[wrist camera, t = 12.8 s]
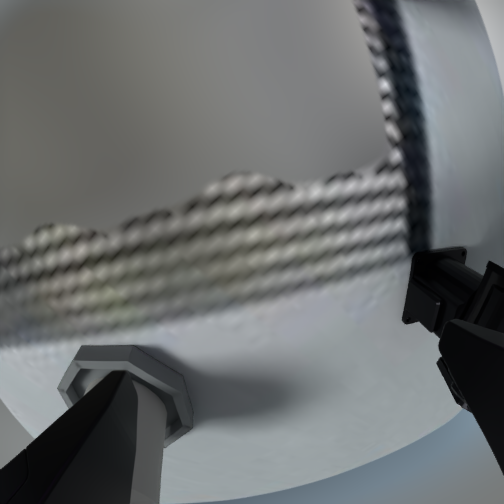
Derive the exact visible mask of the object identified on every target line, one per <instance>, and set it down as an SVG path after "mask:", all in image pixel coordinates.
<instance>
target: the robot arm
mask: <svg viewBox="0 0 504 504" xmlns="http://www.w3.org/2000/svg"><path fill="white" fill-rule="evenodd" d="M466 254H467V250H466V249H465V248H463V247H459V248H451V249H444V250H436V251H429V252H421V253H416V254H415V255H414V256H413V258H412V263H411V271H410V277H409V283H408V289H407V295H406V301H405V306H404V311H403V316H402V321H403V322H404V324H411V323H415V322H420V323H421V324H422V325H423V326H424V327H425V328H426V329H427V330H428V331H429V332H431V333H432V332H434V333H435V334H436V335H437V336H438V337H439V338H440V340H439V345H438V347H439V351H440V353H441V355H442V357H440V358H439V360H438V361H437V363H436V364H437V366H438V368H439V370H440V372H441V374H442V376H443V377H444V379H445V381H446V383H447V385H448V387H449V389H450V391H451V393H452V395H453V397H454V399H455V401H456V403H457V404H458V405H460V406H461V407H462V408H464V409H466V410H467V411H469V412H471V413H472V414H473V415H474V417H475V419H476V421H477V423H478V425H479V426H480V428H481V430H482V432H483V434H484V436H485V438H486V440H487V442H488V443H489V446H490V447H491V449H492V452H493V454H494V456H495V458H496V460H497V462H498V464H499V466H500V468H501V471H502V473H503V475H504V268H502V267H501V266H499V265H497V264H495V263H493V262H491V261H488V263H487V266H486V267H487V269H486V271H485V274H484V276H483V275H481V274H479V273H478V272H476V271H474V270H473V269H471V268H469V267H468V266H466V265H465V260H466ZM418 258H419V260H418ZM417 260H418V261H417ZM407 318H408V319H407ZM137 416H138V394H137V391H136V389H135V386H134V384H133V381H132V379H131V376H130V374H129V373H128V371H126V370H113V371H111V372H110V373H109V374H107V375H106V376H105V377H104V378H103V379H102V380H101V381H100V382H99V383H97V384H96V385H95V386H94V387H93V388H92V389H91V390H90V391H88V392H87V393H86V394H85V395H84V396H83V397H82V398H81V399H79V400H78V401H77V402H76V403H75V404H74V405H73V406H72V407H70V408H69V409H68V410H67V411H66V412H65V413H64V414H63V415H62V416H60V417H59V418H58V419H57V420H56V421H55V422H54V423H53V424H51V425H50V426H49V427H48V428H47V429H46V430H45V431H44V432H43V433H41V434H40V435H39V436H38V437H37V438H36V439H35V440H34V441H33V442H31V443H30V444H29V445H28V446H27V447H26V449H24V450H22V451H21V452H20V453H19V454H18V455H17V456H16V457H15V458H13V459H12V460H11V461H10V462H9V463H8V464H6V465H5V466H4V467H3V468H2V469H0V504H130V499H131V489H132V481H133V472H134V465H135V457H136V446H137Z"/></svg>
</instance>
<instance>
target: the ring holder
mask: <svg viewBox="0 0 504 504" xmlns="http://www.w3.org/2000/svg"><path fill="white" fill-rule="evenodd" d="M113 370H126V371H128V373H129V374H130V376H131V379H132V380H135V381H137V382H139V383H141V384H143V385H144V386H146V387H147V388H148V389H150V390H151V391H152V392H153V393H155V394H156V395H157V396H158V397H159V398H160V399H161V401H162V402H163V403H164V405H165V408H166V411H167V420H166V429H165V438H164V448H166V447H167V446H169V445H170V444H172V443H173V442H175V441H176V440H177V439H179V438H180V437H181V436H183V435H184V434H186V433H187V432H188V431H190V430H191V429H192V428H193V410H192V406H191V403H190V399H189V396H188V392H187V389H186V385H185V382H184V378H183V376H182V375H181V374H179V373H177V372H175V371H174V370H172V369H170V368H169V367H167V366H165V365H164V364H162V363H160V362H159V361H157V360H155V359H154V358H152V357H150V356H149V355H147V354H146V353H144V352H143V351H141V350H139V349H138V348H136V347H135V346H133V345H129V346H81V347H80V349H79V350H78V352H77V354H76V355H75V357H74V359H73V360H72V362H71V364H70V366H69V367H68V369H67V371H66V372H65V374H64V376H63V378H62V380H61V382H60V384H59V386H58V388H57V389H58V391H59V393H60V395H61V396H62V398H63V400H64V401H65V403H66V405H67V406H68V408H70V407H72V406H73V405H74V404H75V403H76V402H77V401H78V400H79V399H81V398H82V397H83V396H84V394H85V391H86V389H87V387H88V385H89V383H91V382H92V381H94V380H95V379H97V378H102V377H105V376H106V375H107V374H109V373H110V372H111V371H113Z"/></svg>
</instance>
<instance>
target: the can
mask: <svg viewBox="0 0 504 504" xmlns="http://www.w3.org/2000/svg"><path fill="white" fill-rule="evenodd" d="M103 378H104V377H102V378H97V379H95V380H94V381H92V382H91V383H89V385H88V387H87V389H86V391H85V394H86V393H87V392H88V391H90V390H91V389H92V388H93V387H94V386H95V385H96V384H97V383H99V382H100V381H101V380H102V379H103ZM132 381H133V384H134V386H135V389H136V391H137V394H138V416H137V446H136V457H135V465H134V472H133V481H132V489H131V499H130V504H159V500H160V484H161V471H162V459H163V448H164V438H165V429H166V420H167V411H166V408H165V405H164V403H163V402H162V401H161V399H160V398H159V397H158V396H157V395H156V394H155V393H153V392H152V391H151V390H150V389H148V388H147V387H146V386H144V385H143V384H141V383H139V382H137V381H135V380H132ZM85 394H84V395H85Z"/></svg>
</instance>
